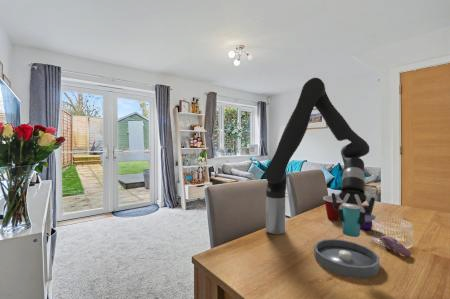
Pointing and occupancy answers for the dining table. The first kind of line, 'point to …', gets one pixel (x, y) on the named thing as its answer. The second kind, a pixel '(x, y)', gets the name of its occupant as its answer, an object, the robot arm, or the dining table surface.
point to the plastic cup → (331, 207)
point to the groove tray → (347, 258)
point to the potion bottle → (367, 221)
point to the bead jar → (351, 219)
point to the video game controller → (394, 245)
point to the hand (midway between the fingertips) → (351, 222)
